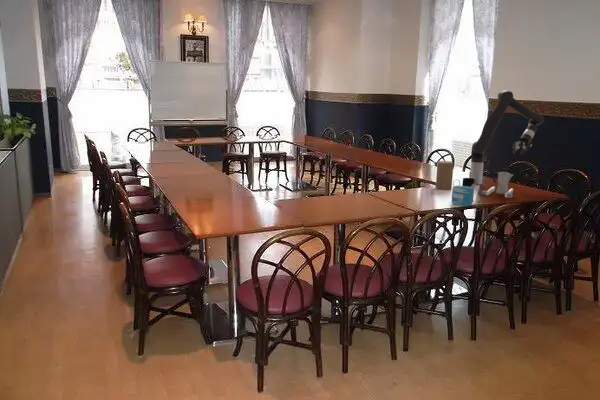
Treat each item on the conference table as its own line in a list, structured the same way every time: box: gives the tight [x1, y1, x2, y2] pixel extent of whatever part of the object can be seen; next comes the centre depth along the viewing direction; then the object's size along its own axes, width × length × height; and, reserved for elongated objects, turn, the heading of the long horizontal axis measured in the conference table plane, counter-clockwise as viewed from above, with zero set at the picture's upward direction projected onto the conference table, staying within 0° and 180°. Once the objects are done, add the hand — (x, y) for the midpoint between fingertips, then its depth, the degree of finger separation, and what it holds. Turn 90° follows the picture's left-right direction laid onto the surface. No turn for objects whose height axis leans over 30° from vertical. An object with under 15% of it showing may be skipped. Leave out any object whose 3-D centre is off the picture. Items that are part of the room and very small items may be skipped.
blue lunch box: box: [452, 177, 476, 203], centre depth 329 cm, size 9×14×15 cm, turn 58°
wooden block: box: [435, 160, 454, 191], centre depth 367 cm, size 10×10×20 cm
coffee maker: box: [490, 167, 514, 195], centre depth 353 cm, size 15×9×18 cm, turn 65°
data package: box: [450, 184, 474, 207], centre depth 316 cm, size 12×4×12 cm, turn 48°
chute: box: [481, 186, 514, 199], centre depth 353 cm, size 20×22×2 cm
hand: (517, 153), depth 368 cm, fingers open, 5 cm apart
